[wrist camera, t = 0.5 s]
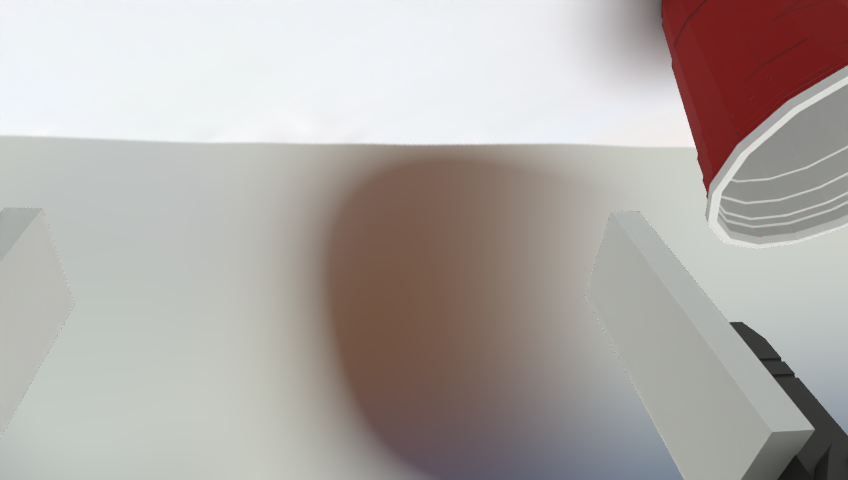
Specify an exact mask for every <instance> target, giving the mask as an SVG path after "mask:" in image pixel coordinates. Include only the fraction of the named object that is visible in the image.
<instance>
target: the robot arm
mask: <svg viewBox="0 0 848 480" xmlns="http://www.w3.org/2000/svg"><path fill="white" fill-rule="evenodd" d="M585 297H586V299H587V301H588V302H589V304H590V306H591V308H592V310H593V312H594V314H595V315H596V317H597V319H598V321H599V323H600V325H601V327H602V328H603V330H604V332H605V334H606V336H607V337H608V340H609V341H610V343H611V345H612V347H613V349H614V351H615V353H616V354H617V356H618V358H619V360H620V362H621V364H622V365H623V367H624V369H625V371H626V373H627V375H628V376H629V379H630V380H631V382H632V384H633V386H634V388H635V389H636V391H637V393H638V395H639V397H640V399H641V401H642V403H643V404H644V406H645V408H646V410H647V412H648V414H649V416H650V417H651V419H652V421H653V423H654V425H655V427H656V429H657V430H658V432H659V434H660V436H661V438H662V440H663V441H664V443H665V445H666V447H667V449H668V451H669V453H670V455H671V456H672V458H673V460H674V462H675V464H676V465H677V467H678V469H679V471H680V473H681V475H682V477H683V478H684V480H848V436H847V435H846V433H845V432H844V431H843V430H842V429H841V427H840V426H839V425H838V424H837V423H836V422H835V421H834V419H833V418H832V417H831V416H830V415H829V414H828V412H827V411H826V410H825V409H824V408H823V406H822V405H821V404H820V403H819V402H818V400H817V399H816V398H815V397H814V396H813V395H812V393H811V392H810V391H809V390H808V389H807V388H806V386H805V385H804V384H803V383H802V382H801V381H800V379H799V378H795V376H794V374H795V373H794V372H793V371H792V370H791V369H790V368H789V366H788V365H787V364H786V363H785V362H782V361H781V357H780V356H779V355H778V354H777V352H776V351H775V350H774V349H773V348H772V346H771V345H770V344H769V343H768V342H767V341H766V339H765V338H763V337H762V336H760V335H759V334H758V333H756V332H755V331H754V330H752V329H751V328H749V327H748V326H747V325H745V324H744V323H743V322H728V321H727V319H726V318H725V317H724V316H723V315H722V313H721V312H720V311H719V310H718V308H717V307H716V306H715V304H714V303H713V302H712V301H711V299H710V298H709V297H708V296H707V295H706V293H705V292H704V291H703V290H702V288H701V287H700V286H699V285H698V283H697V282H696V281H695V280H694V279H693V277H692V276H691V275H690V273H689V272H688V271H687V270H686V269H685V267H684V266H683V265H682V264H681V262H680V261H679V260H678V259H677V257H676V256H675V255H674V254H673V253H672V251H671V250H670V249H669V248H668V246H667V245H666V244H665V242H664V241H663V240H662V239H661V237H660V236H659V235H658V234H657V232H656V231H655V230H654V229H653V228H652V226H651V225H650V224H649V223H648V221H647V220H646V219H645V218H644V216H643V215H642V214H641V213H640V211H611V212H610V215H609V218H608V222H607V225H606V228H605V231H604V235H603V238H602V241H601V245H600V248H599V251H598V254H597V257H596V261H595V264H594V267H593V271H592V274H591V277H590V280H589V284H588V287H587V290H586V293H585ZM74 305H75V303H74V300H73V297H72V294H71V291H70V288H69V286H68V282H67V279H66V276H65V274H64V270H63V267H62V264H61V261H60V258H59V255H58V252H57V250H56V246H55V243H54V240H53V238H52V235H51V231H50V228H49V226H48V222H47V220H46V217H45V213H44V210H43V208H4V209H3V210H2V211H1V212H0V438H1V436H2V435H3V433H4V431H5V429H6V428H7V426H8V424H9V422H10V420H11V419H12V417H13V415H14V413H15V411H16V410H17V408H18V406H19V404H20V402H21V401H22V399H23V397H24V395H25V393H26V392H27V390H28V388H29V386H30V384H31V383H32V381H33V379H34V377H35V375H36V374H37V372H38V370H39V368H40V366H41V365H42V362H43V361H44V359H45V357H46V356H47V354H48V352H49V350H50V348H51V347H52V345H53V343H54V341H55V339H56V337H57V336H58V334H59V332H60V330H61V329H62V327H63V325H64V323H65V321H66V319H67V318H68V316H69V314H70V312H71V311H72V309H73V307H74Z"/></svg>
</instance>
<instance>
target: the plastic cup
mask: <svg viewBox="0 0 848 480" xmlns="http://www.w3.org/2000/svg"><path fill="white" fill-rule="evenodd" d="M662 19H663V22H662V27H663V30H664V33H665V37H666V40H667V44H668V47H669V50H670V54H671V57H672V69H673V72H674V75H675V79H676V82H677V85H678V89H679V92H680V95H681V99H682V102H683V105H684V109H685V112H686V115H687V119H688V122H689V125H690V129H691V132H692V135H693V139H694V142H695V145H696V149H697V152H698V158H697V159H698V162H699V165H700V168H701V170H702V173H703V182H704V185H705V188H706V191H707V199H708V201H707V208H706V219H707V223H708V225H709V226H710V228H711V229H712V230H713V231H714V232H715V234H716V235H717V236H718V237H719V238H720V240H721V241H722V242H723V243H728V244H732V245H737V246H742V247H747V248H751V249H756V248H764V247H772V246H780V245H789V244H795V243H798V242H801V241H804V240H807V239H810V238H814V237H816V236H820V235H823V234H826V233H829V232H832V231H836V230H839V229H842V228H844V227H846V226H848V0H662Z"/></svg>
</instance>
